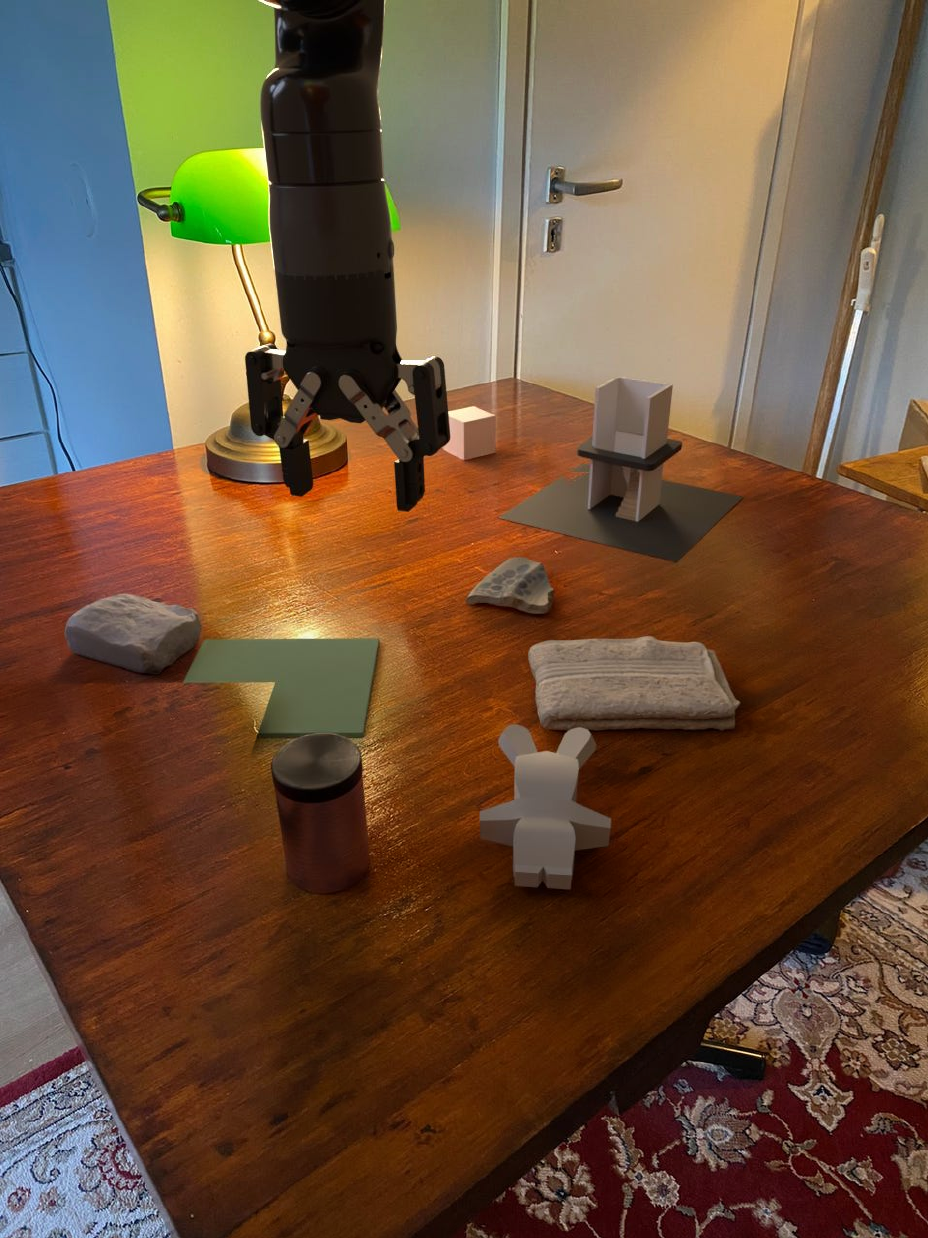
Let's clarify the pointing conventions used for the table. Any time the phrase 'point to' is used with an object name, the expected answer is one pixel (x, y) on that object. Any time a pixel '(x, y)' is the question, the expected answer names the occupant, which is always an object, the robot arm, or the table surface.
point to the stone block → (133, 632)
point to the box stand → (627, 481)
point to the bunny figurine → (545, 809)
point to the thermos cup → (322, 811)
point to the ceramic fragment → (516, 587)
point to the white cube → (471, 433)
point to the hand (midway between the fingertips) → (354, 500)
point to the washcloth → (630, 685)
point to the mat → (297, 680)
